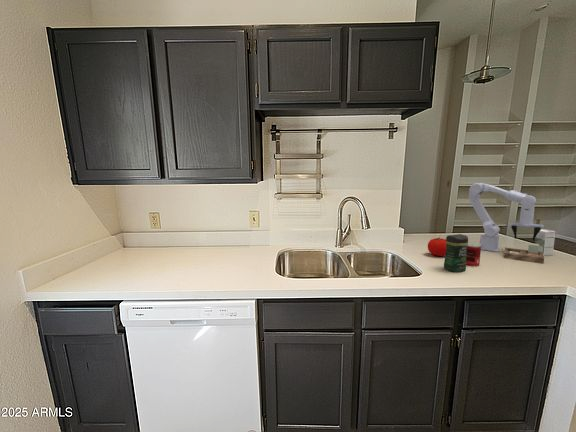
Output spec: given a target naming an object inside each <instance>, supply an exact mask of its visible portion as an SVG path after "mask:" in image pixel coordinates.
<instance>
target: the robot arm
mask: <svg viewBox="0 0 576 432" xmlns="http://www.w3.org/2000/svg"><path fill="white" fill-rule="evenodd" d="M468 191H469V194H468V201H469V202H470V204H471V206H472V207H473V209H474V212H475V213H476V214H477V216H478V218H479V219H480V221H481V223H482V227H483V229H484V230H483V232H484V235H483V234H481V235H480V238H479V243H478V244H480V245H481V251H483V250H484V251H489V252H497V253H498V252H499V250H500V248H499V241H500V236H499V233H500V232H501V228H500V226H499V225H497V224H496V223H495V222H494V221H493V220H492V218H491V217H490V215H489V213H488V211H487V209H486V208H485V205H483V203H482V202H481V199H480V197H481V195H482V194H483V193H484V192H491V193H495V194H498V195H501V196H503V197H505V198H506V200H509V201H511V202H514V203H517V204H521V208H520V211H519V212H520V214H519V221H518V222H509V223H508V226H509V227H511V230H512V233H513V234H514V235H513V236H514V239H517V231H518V227H520V228H521V227H522V228H531V229H532V228H533V235H532V241H536V235H537V234H538V233H539V231H540V230H541V229H545V228H544V227H545V225H544V224H539V223H537V224H536V223H534V217H535V204H536V203H537V198H536V197H535V196H534V195H533V196H532V195H530V194H529V195H528V193H523V192H520V191H518V190H517V189H514V190H513V189H510V190H505V189H503V188H501V187H498V186H495V185H493V184H488V183H484V182H476V183H473V184H471V186H470V187H469V189H468Z"/></svg>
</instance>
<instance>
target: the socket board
mask: <svg viewBox="0 0 576 432" xmlns="http://www.w3.org/2000/svg"><path fill="white" fill-rule="evenodd" d="M544 256H545V255H543V252H538V255H537V254H529V253H528V249H521V248H520V249H518V248H512V247H505V248H504V253H503V259H509V260H515V261H516V260H517V261H522V262H531V263H537V264H544V263H545V257H544Z"/></svg>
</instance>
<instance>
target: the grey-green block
mask: <svg viewBox="0 0 576 432" xmlns="http://www.w3.org/2000/svg"><path fill="white" fill-rule="evenodd" d="M527 247H528V248H527V250H528V253H529V254H537V255H538V251H539V244H535V243H531V242H529V243H528V245H527Z"/></svg>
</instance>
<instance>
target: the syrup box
mask: <svg viewBox="0 0 576 432" xmlns="http://www.w3.org/2000/svg"><path fill="white" fill-rule="evenodd" d="M555 239H556V230H551V229H546V228H543V229H541V230H540V231H539V233H538V234H537V235H536V237H535V240H534V242H535V243H534V244H539V251H538V252H543V256H553V255H554V246H555Z"/></svg>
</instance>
